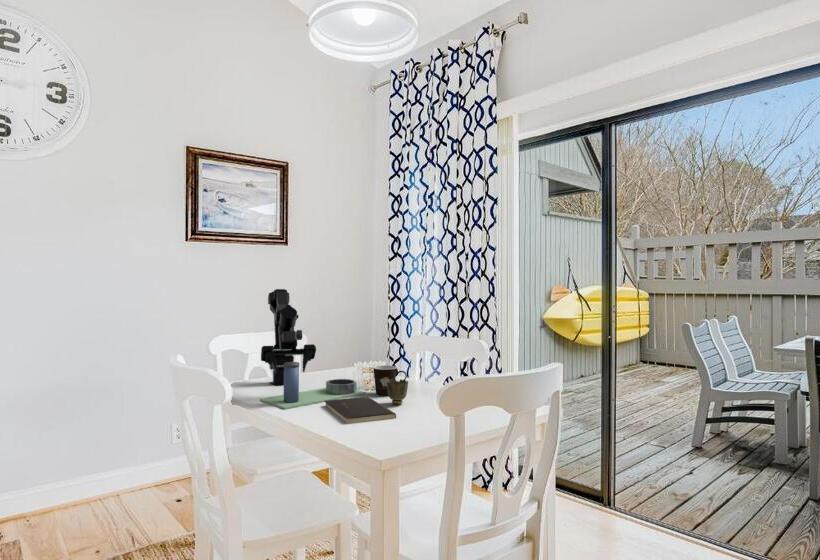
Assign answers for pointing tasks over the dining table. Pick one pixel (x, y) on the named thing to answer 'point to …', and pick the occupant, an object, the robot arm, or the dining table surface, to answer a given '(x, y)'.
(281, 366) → the robot arm
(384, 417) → the hardcover book
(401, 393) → the cup
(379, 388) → the coffee mug
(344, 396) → the putting mat
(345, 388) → the cup
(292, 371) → the golf ball sleeve
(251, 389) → the dining table surface
